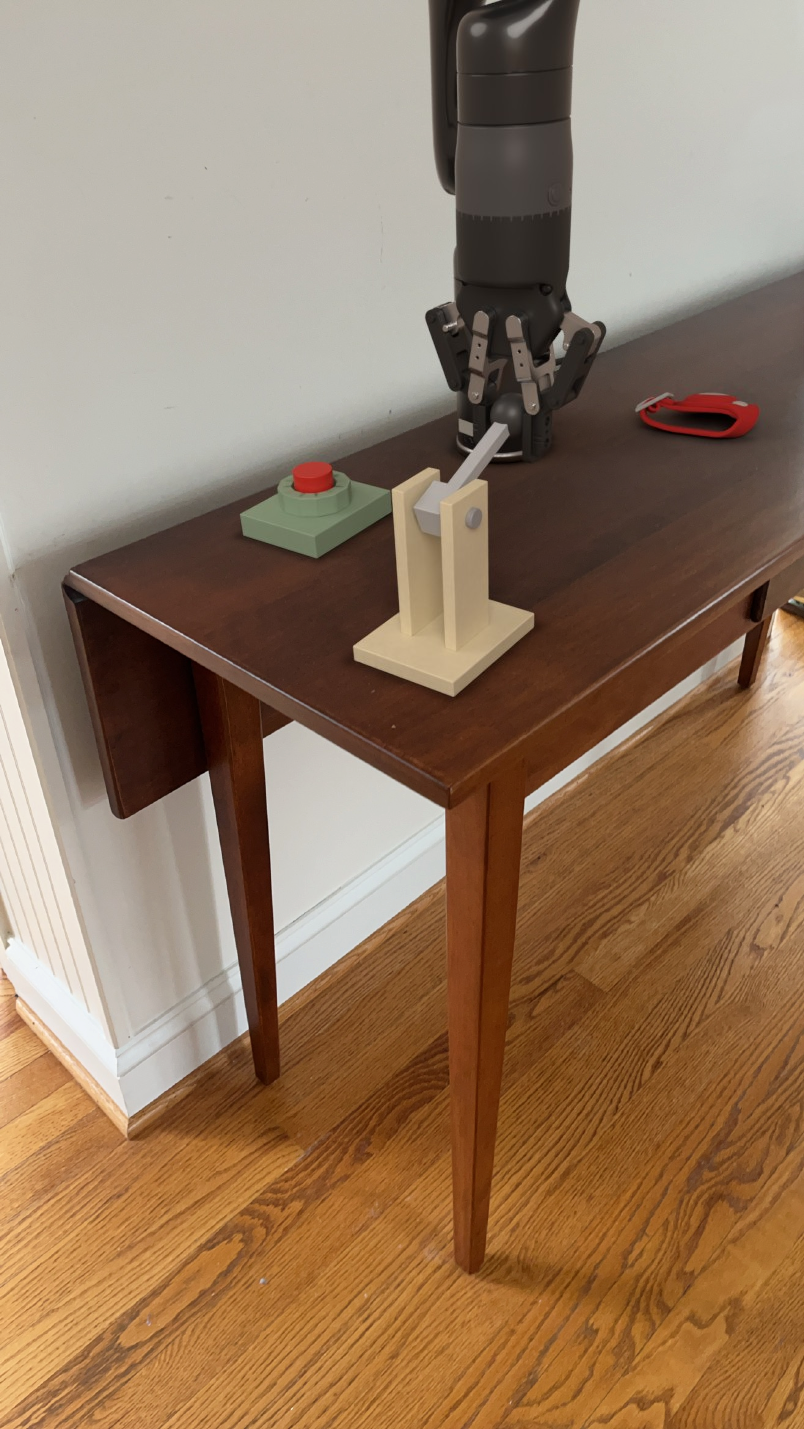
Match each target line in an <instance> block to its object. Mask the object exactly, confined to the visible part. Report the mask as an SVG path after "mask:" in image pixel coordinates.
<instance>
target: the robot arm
mask: <svg viewBox="0 0 804 1429" xmlns="http://www.w3.org/2000/svg"><path fill="white" fill-rule="evenodd" d="M487 1H488V0H427V7H428V27H429V30H428V31H429V62H430V63H429V64H430V65H429V66H430V100H431V102H430V103H431V104H430V105H431V128H432V130H431V131H432V150H433V158H434V165H435V171H436V175H437V179H438V182H439V184H440V186H441V188H442V189H443V191H444V192H445V193H446V194H448V195H450V196H454V197H455V198H454V199H455V243H456V244H455V247H454V250H453V252H452V256H453V257H452V264H453V265H452V269H453V270H452V272H453V273H452V274H453V301H447V302H445V303H441V304H439V305H436V306H434V307H433V308H430V309H428V310H426V312H425V315H424V320H425V323H426V326H427V329H428V331H429V334H430V338H431V341H432V344H433V347H434V349H435V352H436V355H437V358H438V360H439V364H440V366H441V370H442V372H443V374H444V378H445V381H446V384H447V386H448V388H449V390H450V391H452V392H454V393H456V429H457V432H456V434H457V435H456V449H457V451H458V453H460V454H461V455H462V456H464V457H466V458H467V457H468V456H469V455H470V453H471V452H472V451H473V450H474V448H475V447H476V446H477V444H478V443H479V442H480V440H481V439H482V438H483V437H484V435H485V434H486V433H487V431H488V430H489V429H490V427H491V426H492V424H491V421H490V411H491V408H492V405H493V404H494V402H495V401H496V400H497V399H498V398H499V397H500V396H502V395H504V394H507V393H519V394H521V395H523V400H524V407H525V410H526V412H525V413H524V414H523V434H522V436H520V437H517V438H507V439H506V440H505V442H504V443H503V444H502V446H501V447H500V448H499V450H498V451H497V452H496V454H495V455H494V456H493V458H492V459H491V460H490V462H489V463H511V462H520V461H522V462H524V463H528V464H534V463H536V462H537V461H539V460H540V459H542V458H543V457H544V456H545V455H546V454H545V453H547V452H549V451H550V449H551V446H552V441H553V440H552V439H553V436H552V435H553V432H552V431H553V412H554V411H558V410H560V409H562V408H563V407H565V406H566V405H568V404H569V403H572V402H573V401H575V400H576V399H577V398H578V397H579V395H580V394H581V391H582V389H583V386H584V384H585V381H586V380H587V377H588V376H589V373H590V372H591V371H590V370H591V368H592V367H593V364H594V362H595V359H596V357H597V356H598V353H599V350H600V348H601V346H602V344H603V341H604V339H605V337H606V335H607V326H606V325H605V323H604V322H603V321H601V320H595V321H593V322H591V323H590V322H588V321H587V320H585V319H584V318H582V317H580V316H579V315H577V314H576V313H574V312H573V306H572V302H571V300H570V298H569V295H568V291H567V281H568V276H569V271H570V260H571V259H570V258H571V236H572V232H571V231H572V230H571V229H572V208H573V185H574V184H573V183H574V182H573V181H574V149H573V148H574V146H573V137H572V116H571V115H572V104H573V103H572V102H573V101H572V99H573V73H574V67H573V65H574V52H575V51H574V50H575V49H574V48H575V41H576V40H575V39H576V30H577V22H578V16H579V10H580V4H581V0H496V1H493V2H490V3H487ZM486 3H487V4H486ZM561 332H563V340H562V350H563V351H565V354H564V356H563V357H558V358H556V355H555V349H554V342H555V340H556V339H557V337H558V336H559V335H560V333H561ZM557 366H559V369H558V371H557V374H556V376H555V377H554V371H555V370H556V367H557Z"/></svg>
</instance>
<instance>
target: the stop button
mask: <svg viewBox="0 0 804 1429" xmlns="http://www.w3.org/2000/svg"><path fill="white" fill-rule="evenodd" d="M333 471H334V470H333V467H332V465H331V464H329V463H327V462H324V461H309V462H304V463H301V464H299V465H296V466H295V467H293V469H292V474H293V480H294V487H295V491H297V492H301V493H320V492H324V491H328V490H330V489H331V488H333V487H334V480H333Z"/></svg>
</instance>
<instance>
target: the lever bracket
mask: <svg viewBox="0 0 804 1429" xmlns="http://www.w3.org/2000/svg"><path fill="white" fill-rule="evenodd" d="M434 480H435V481H439V482H441V470H440V469H437V468H433V467H427V468H425V469H423V470H422V471H420V472H418V473H416V474H415V475H413V476H412V477H410V478H409V479H406V480H405V481H403V482H402V483H400V484H399V485H396V486H395V487H393V488H392V489H391V504H392V517H393V530H394V532H393V533H394V544H395V545H394V546H395V547H394V548H395V558H396V559H395V560H396V576H397V592H398V605H399V606H398V607H399V612H397V613H396V614H394V615H393V616H392V617H391V618H389V619H388V620H387V621H385V622H384V623H382V624H381V625H379V626H378V627H376V628H375V629H374V630H373V631H371V632H370V633H369V634H367V635H366V636H365V637H363V638H362V639H361V640H359V641H358V642H357V643H355V644H353V646H352V650H353V660H354V661H355V662H358V663H361V664H363V665H366V666H369V667H372V668H373V669H377V670H380V671H382V672H385V673H388V674H389V675H390V674H391V675H393V676H396V677H398V678H401V679H404V680H407V681H409V682H412V683H415V684H417V685H420V686H423V687H426V688H428V689H431V690H433V691H436V692H439V693H442V694H444V695H447V696H449V697H452V698H454V697H456V696H457V695H458V694H459V693H460V692H461V691H463V690H464V689H465V688H466V687H467V686H468V685H469V684H471V683H472V682H473V681H474V680H475V679H476V678H478V677H479V676H480V675H481V674H482V673H483V672H485V671H486V670H487V669H488V668H489V667H490V666H491V665H492V664H493V663H495V662H496V661H497V660H498V659H499V658H501V657H502V656H503V655H504V654H506V652H507V651H509V650H510V649H511V648H512V647H513V646H514V645H515V644H517V643H518V642H519V641H520V640H521V639H522V638H524V637H525V636H526V635H527V634H528V633H530V631H532V630H533V629H534V627H535V613H534V612H532V611H529V610H525V609H522V608H518V607H516V606H512V605H509V604H505V603H502V602H499V601H496V600H492V599H489V483H488V481H487V480H485V479H479V478H477V479H475V480H473V481H471V482H470V483H468V484H467V485H465V486H464V487H462V488H461V489H459V490H458V491H456V492H454V493H453V494H451V495H450V496H448V497H447V498H445V499H444V500H442V501H441V502H440V520H441V537H439V536H435V535H431V534H428V533H424V532H422V531H421V528H420V525H419V523H418V520H417V517H416V514H415V511H414V509H413V507H414V506H415V504H416V503H417V502H418V500H419V499H420V498H421V497H422V495H423V494H424V493H425V491H426V490H427V489H428V488H429V486H430V485H431V484H432V482H433V481H434Z"/></svg>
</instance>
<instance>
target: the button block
mask: <svg viewBox="0 0 804 1429" xmlns="http://www.w3.org/2000/svg"><path fill="white" fill-rule="evenodd" d="M333 480H334V487H333V488H331V489H330V490H328V491H324V492H320V493H301V492H297V491H295V487H294V480H293V473H292V474H290V475H288V476H286V477H284V478H282V479H281V480H280V481H279V483H278V485H277V493H276V494H274V495H272V496H270V497H269V498H266V499H265V500H263V501H262V502H259V503H258V504H256V505H254V506H252V507H250V508H249V509H246V510H245V511H243V512H241V513H240V514H239V517H240V523H241V529H242V535H243V536H244V537H246V538H250V539H252V540H257V541H260V542H262V543H266V544H268V545H272V546H276V547H279V548H282V549H285V550H288V551H291V552H295V553H298V554H301V555H304V556H308V557H310V558H314V559H319V558H321V557H322V556H324V555H325V554H327V553H329V552H330V551H331V550H333V549H335V548H336V547H338V546H339V545H342V544H343V543H344V542H346V541H348V540H349V539H351V538H352V537H354V536H356V535H357V534H359V533H361V532H362V531H364V530H365V529H367V528H369V527H370V526H372V525H373V524H375V523H376V522H377V521H380V520H381V519H383V518H384V517H387V516H388V515H389V514H391V513H393V505H392V490H390V489H386V488H384V487H383V488H382V487H378V486H374V485H371V484H367V483H362V482H359V481H355V480H352V479H350V477H349V476H348V475H346V473H344V472H342V471H337V470H333Z"/></svg>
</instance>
